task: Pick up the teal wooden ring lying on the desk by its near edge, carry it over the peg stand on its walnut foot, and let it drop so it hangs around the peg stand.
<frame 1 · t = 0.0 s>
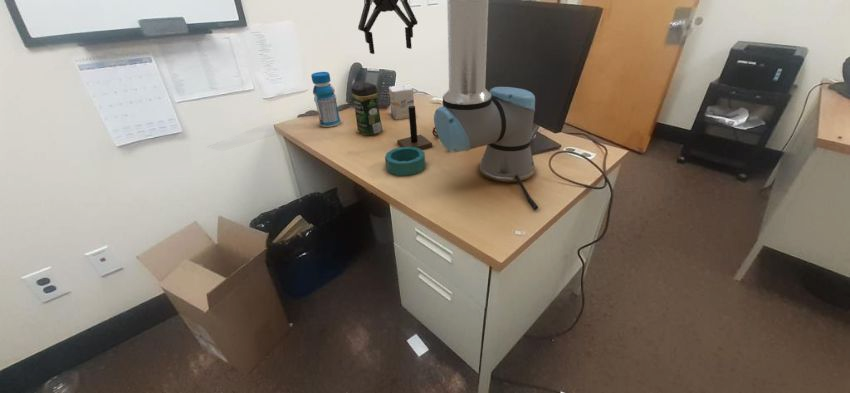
hand: (391, 50, 119), 28 cm above the table, tool pointing down, fingers open, 13 cm apart
beverage bottle: (330, 124, 142), on the table
coffee jar: (370, 132, 132), on the table
ink box: (403, 115, 146), on the table
ring: (405, 166, 106), on the table
glasses: (457, 141, 120), on the table
peg stand: (414, 145, 119), on the table
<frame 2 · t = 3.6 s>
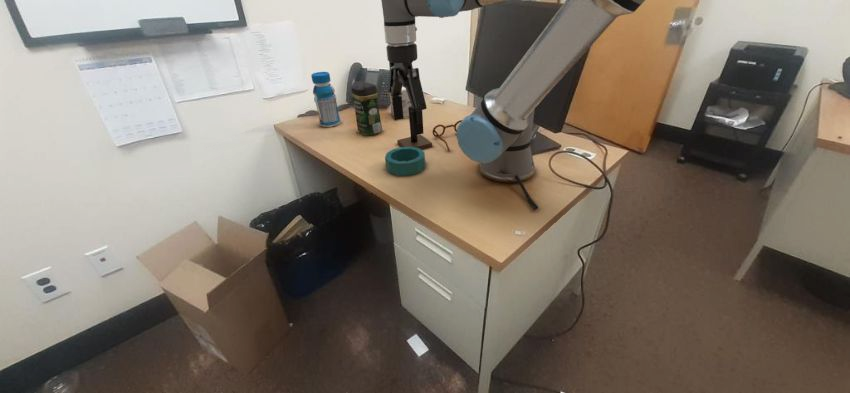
hand: (408, 126, 96), 14 cm above the table, tool pointing down, fingers open, 13 cm apart
nothing on the table moved.
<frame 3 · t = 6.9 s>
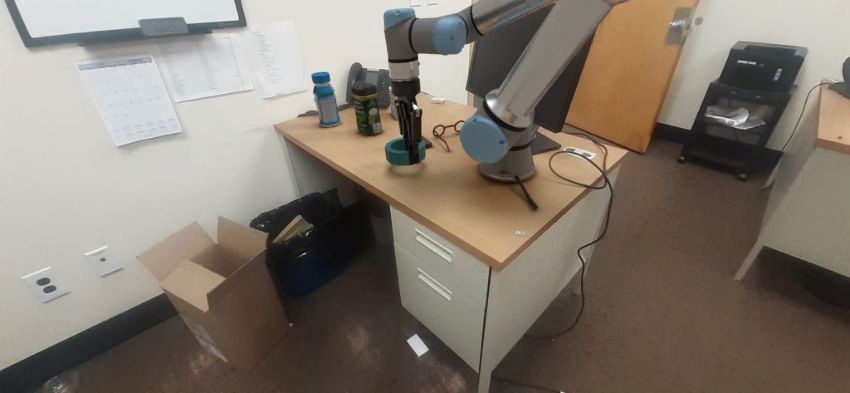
hand: (412, 161, 100), 4 cm above the table, tool pointing down, fingers closed on ring, 2 cm apart
ring: (406, 157, 104), point 3 cm above the table, touching gripper
everything else where it was.
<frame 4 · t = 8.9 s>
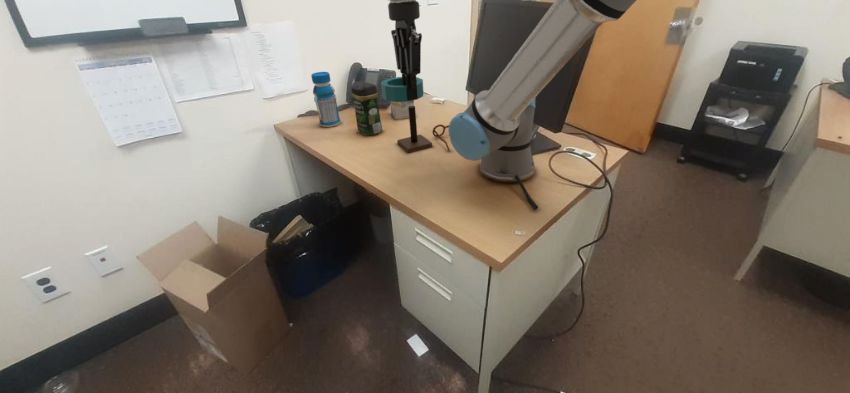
hand: (410, 98, 96), 20 cm above the table, tool pointing down, fingers closed on ring, 2 cm apart
ring: (403, 95, 100), point 20 cm above the table, touching gripper
everything else where it was.
when the fingers open (16 cm above the table, at t = 11.3 s): ring drops 14 cm, resting on peg stand.
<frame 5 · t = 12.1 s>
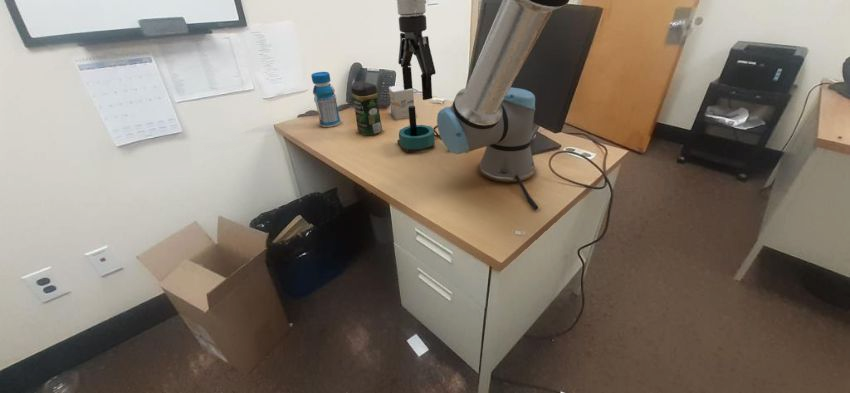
hand: (417, 93, 105), 19 cm above the table, tool pointing down, fingers open, 13 cm apart
ring: (417, 142, 117), point 1 cm above the table, touching peg stand
everything else where it was.
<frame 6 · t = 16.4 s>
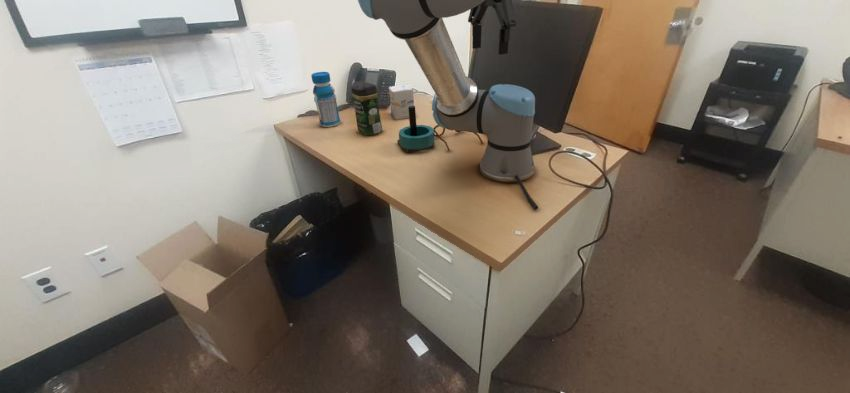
hand: (489, 50, 105), 29 cm above the table, tool pointing down, fingers open, 13 cm apart
nothing on the table moved.
at the end: ring 1.4 cm off-centre on the peg stand, point 1.5 cm above the peg stand's base; the gripper is holding nothing; ring moved 15.1 cm from its start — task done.
